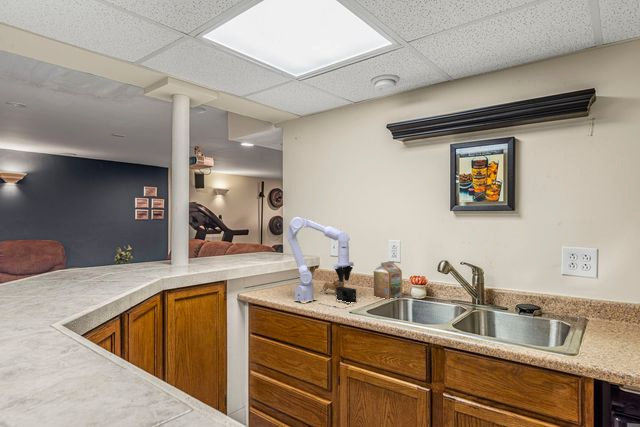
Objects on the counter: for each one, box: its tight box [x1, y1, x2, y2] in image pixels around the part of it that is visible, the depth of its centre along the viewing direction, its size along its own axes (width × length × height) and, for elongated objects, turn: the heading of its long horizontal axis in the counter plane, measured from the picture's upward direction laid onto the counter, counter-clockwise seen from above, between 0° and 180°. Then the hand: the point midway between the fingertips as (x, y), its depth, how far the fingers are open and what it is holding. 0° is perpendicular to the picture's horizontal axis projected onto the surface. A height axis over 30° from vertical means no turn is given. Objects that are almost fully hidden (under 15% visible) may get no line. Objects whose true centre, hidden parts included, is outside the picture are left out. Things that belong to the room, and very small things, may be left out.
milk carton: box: [373, 260, 403, 300], centre depth 203 cm, size 11×11×19 cm
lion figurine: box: [320, 279, 345, 295], centre depth 212 cm, size 15×5×9 cm, turn 67°
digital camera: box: [335, 286, 357, 303], centre depth 193 cm, size 10×5×7 cm, turn 41°
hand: (343, 281), depth 197 cm, fingers open, 4 cm apart
